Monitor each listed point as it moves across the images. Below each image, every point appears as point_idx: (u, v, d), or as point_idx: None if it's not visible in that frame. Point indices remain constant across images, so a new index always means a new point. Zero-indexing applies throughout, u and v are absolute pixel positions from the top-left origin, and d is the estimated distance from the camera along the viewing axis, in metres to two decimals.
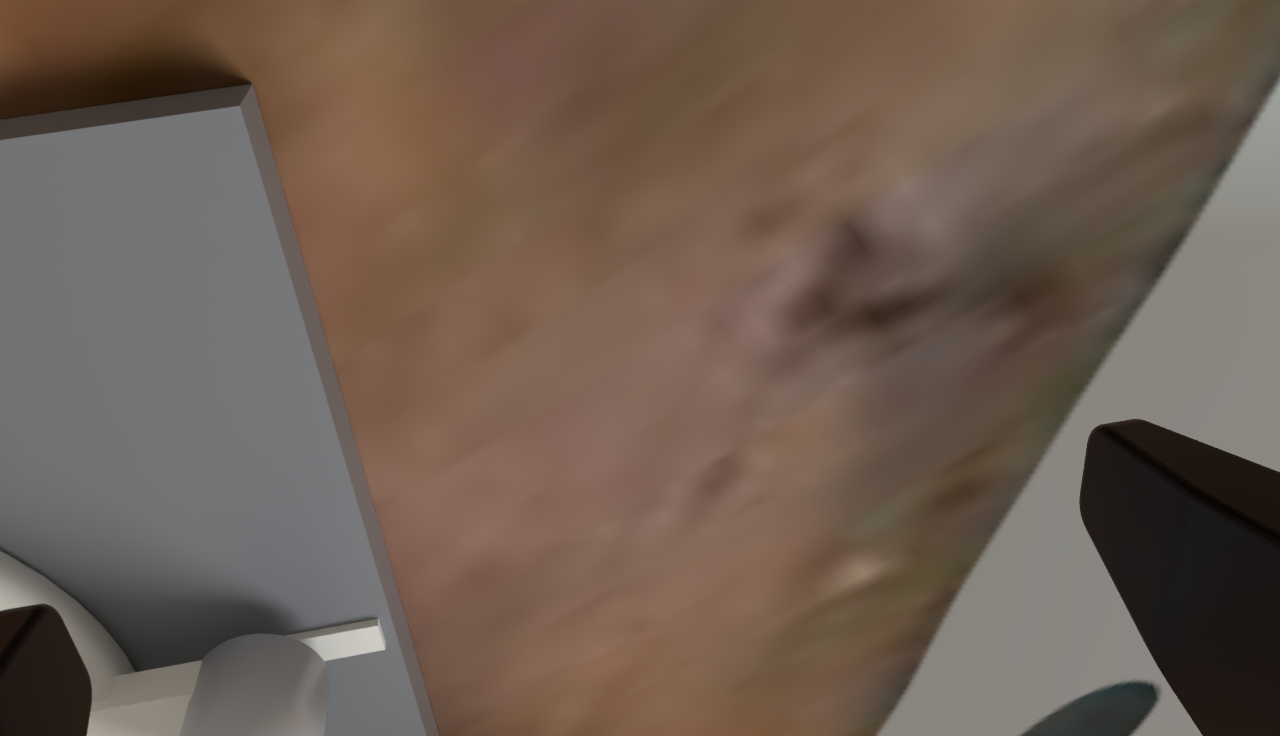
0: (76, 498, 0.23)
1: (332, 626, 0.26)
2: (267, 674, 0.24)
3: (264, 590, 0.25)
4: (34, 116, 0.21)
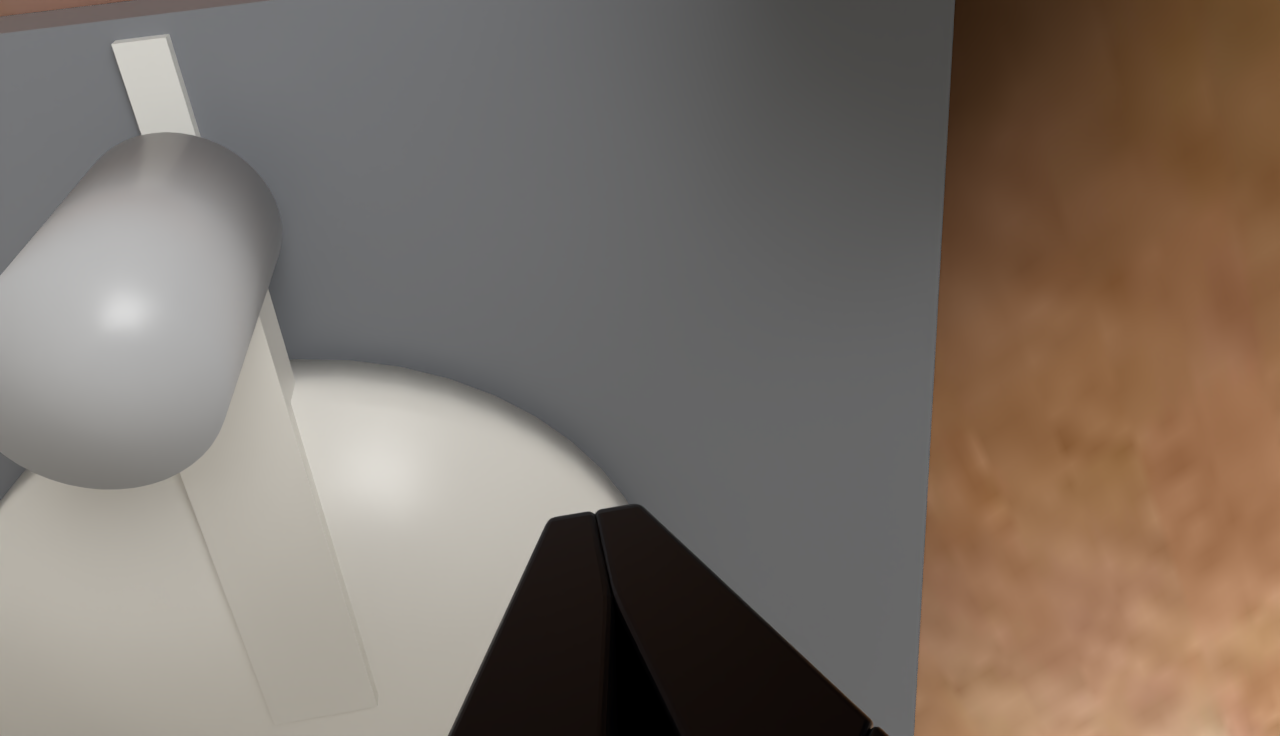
0: None
1: (138, 111, 0.17)
2: None
3: None
4: None
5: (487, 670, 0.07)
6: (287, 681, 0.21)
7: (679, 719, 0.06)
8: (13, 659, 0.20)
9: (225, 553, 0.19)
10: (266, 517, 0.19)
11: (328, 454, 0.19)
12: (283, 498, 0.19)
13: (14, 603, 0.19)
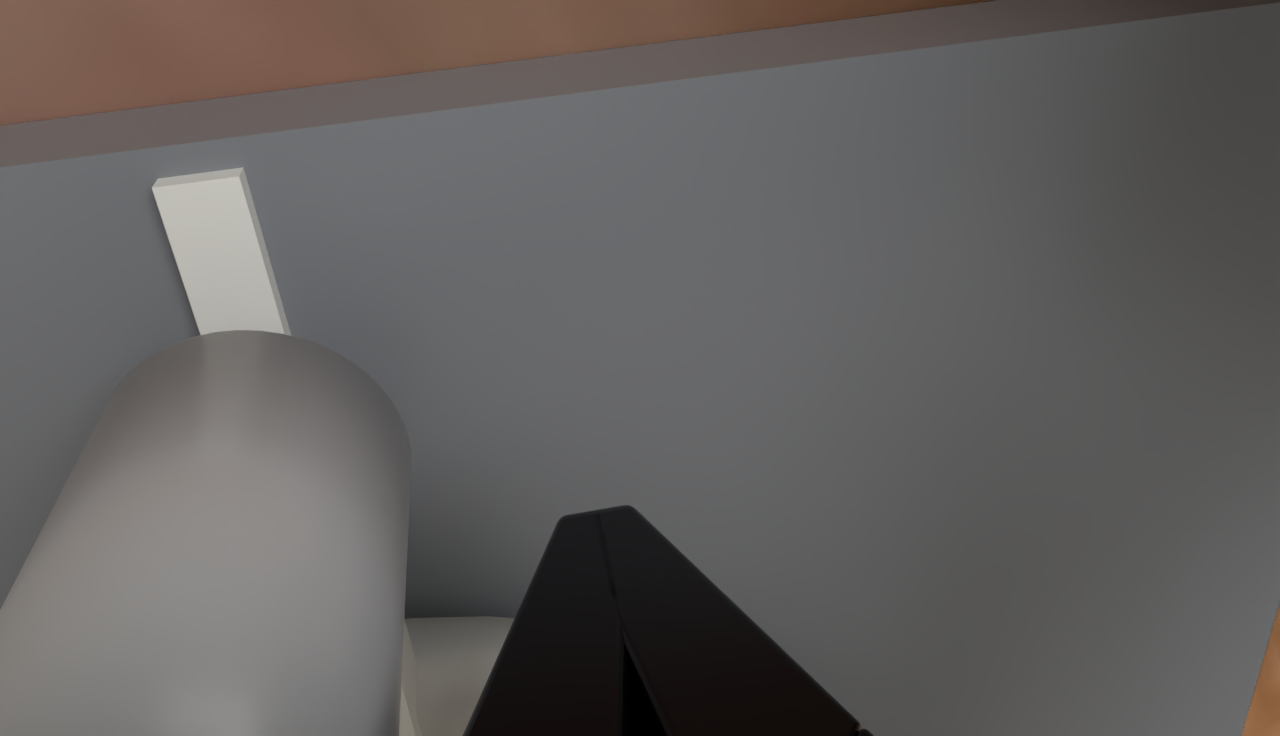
0: None
1: (190, 283, 0.11)
2: None
3: (83, 406, 0.11)
4: None
5: (501, 668, 0.07)
6: None
7: (667, 721, 0.06)
8: None
9: None
10: None
11: None
12: None
13: None
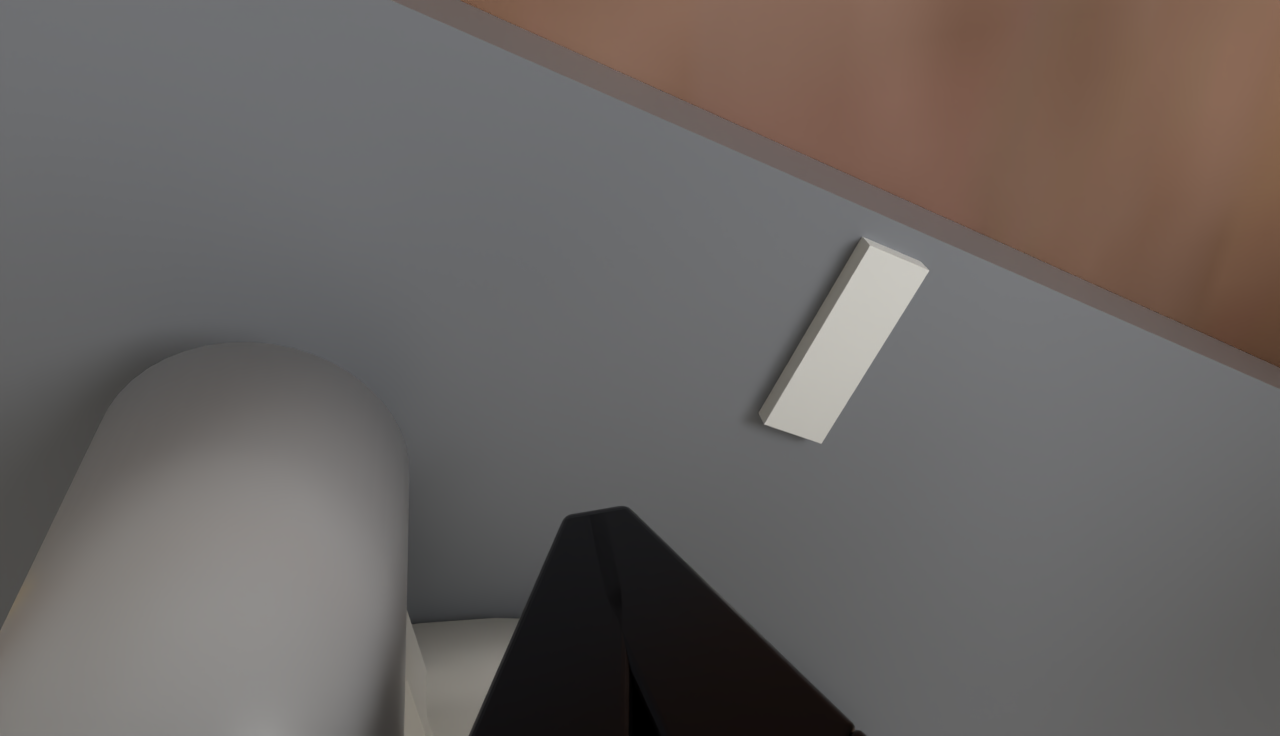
0: None
1: (811, 320, 0.12)
2: None
3: (651, 369, 0.12)
4: None
5: (507, 666, 0.07)
6: None
7: (661, 723, 0.06)
8: None
9: None
10: None
11: None
12: None
13: None
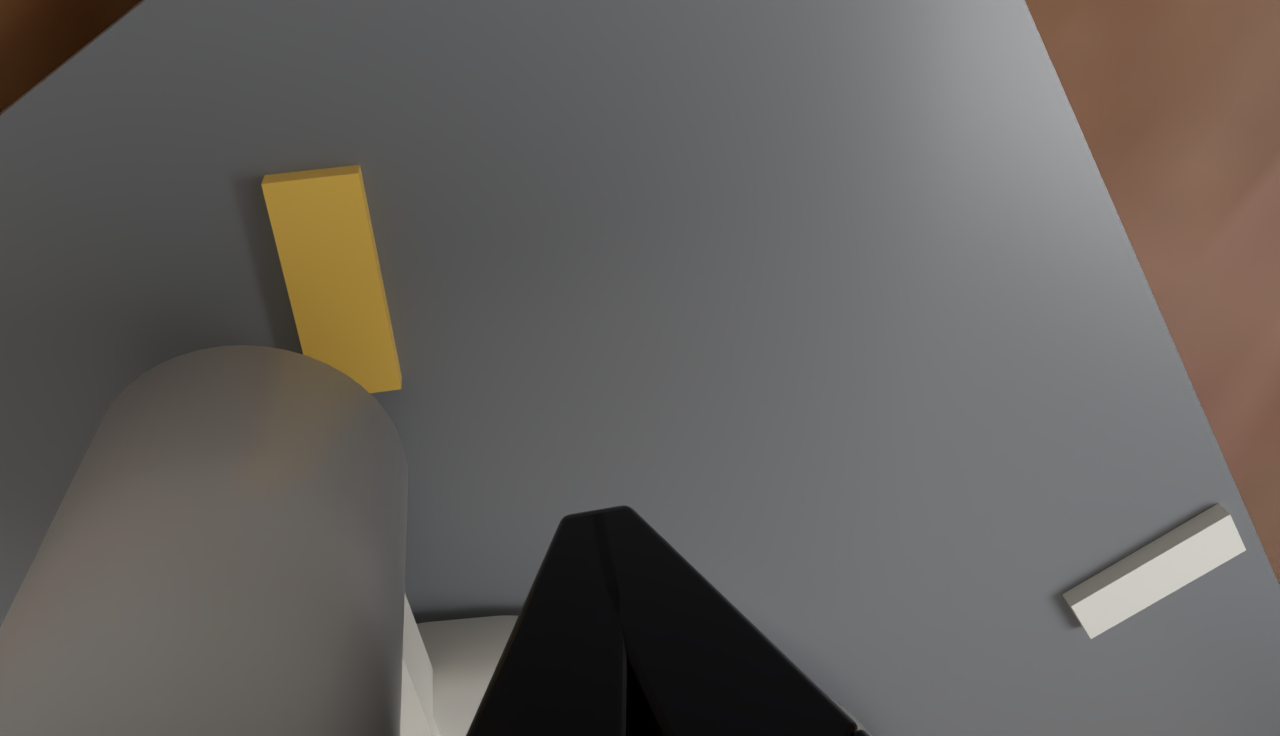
0: (704, 489, 0.13)
1: (1145, 544, 0.15)
2: None
3: (1028, 527, 0.14)
4: None
5: (504, 666, 0.07)
6: None
7: (664, 722, 0.06)
8: None
9: None
10: None
11: None
12: None
13: None
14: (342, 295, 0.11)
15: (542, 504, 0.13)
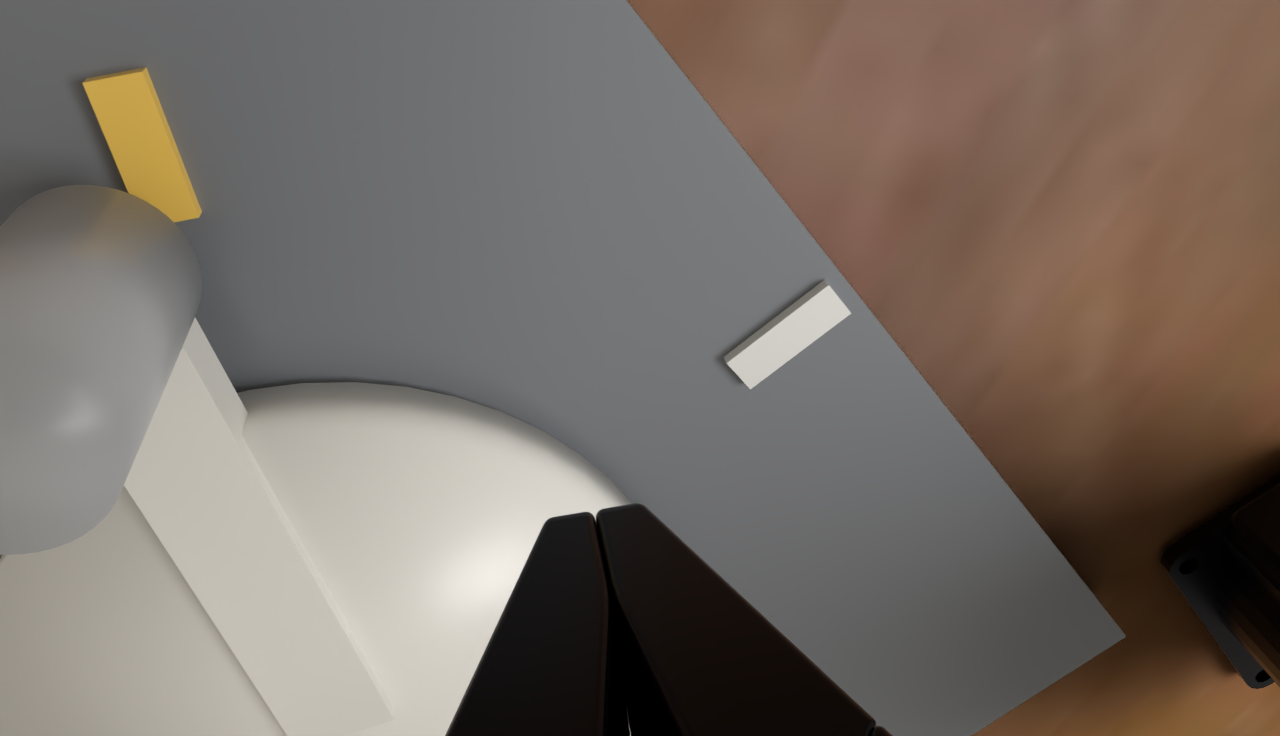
0: (430, 284, 0.19)
1: (777, 315, 0.20)
2: None
3: (681, 304, 0.20)
4: None
5: (484, 671, 0.07)
6: (299, 706, 0.21)
7: (682, 719, 0.06)
8: (32, 718, 0.20)
9: (209, 591, 0.19)
10: (241, 551, 0.19)
11: (290, 480, 0.19)
12: (253, 530, 0.19)
13: (21, 666, 0.20)
14: (147, 154, 0.17)
15: (318, 300, 0.19)
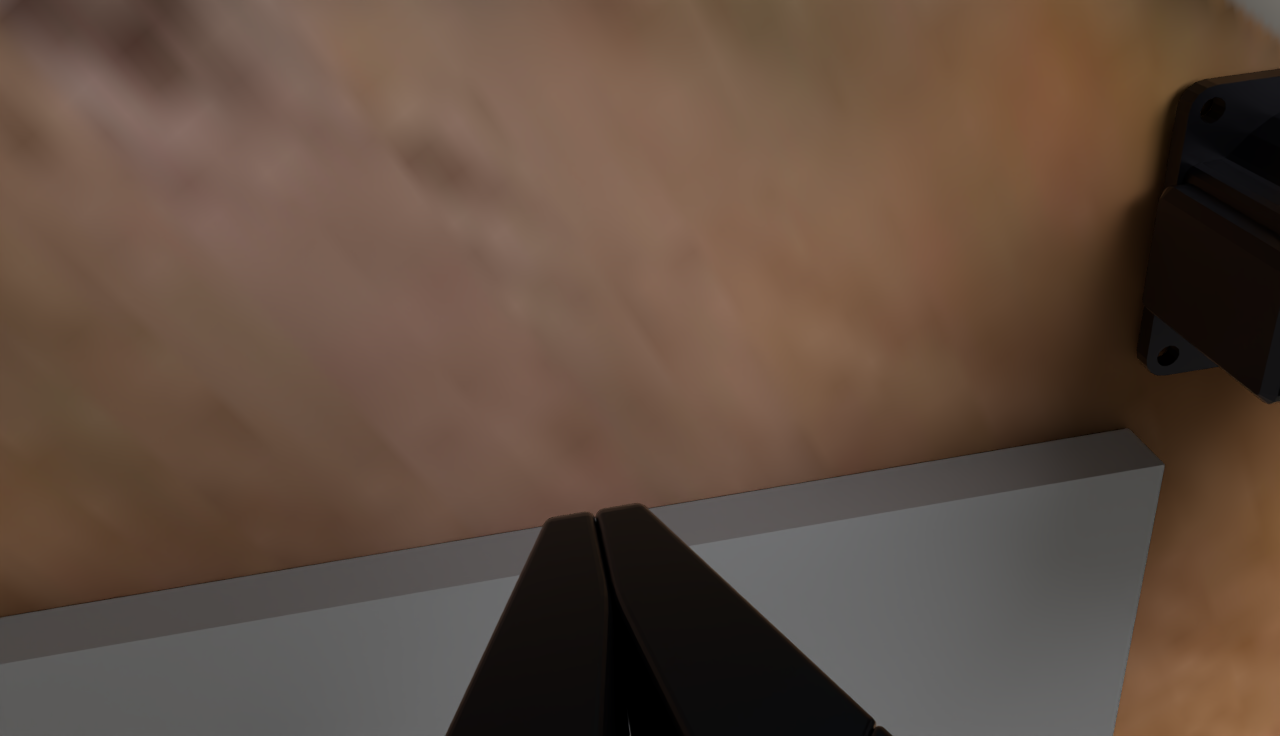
0: None
1: None
2: None
3: None
4: None
5: (484, 672, 0.07)
6: None
7: (682, 719, 0.06)
8: None
9: None
10: None
11: None
12: None
13: None
14: None
15: None
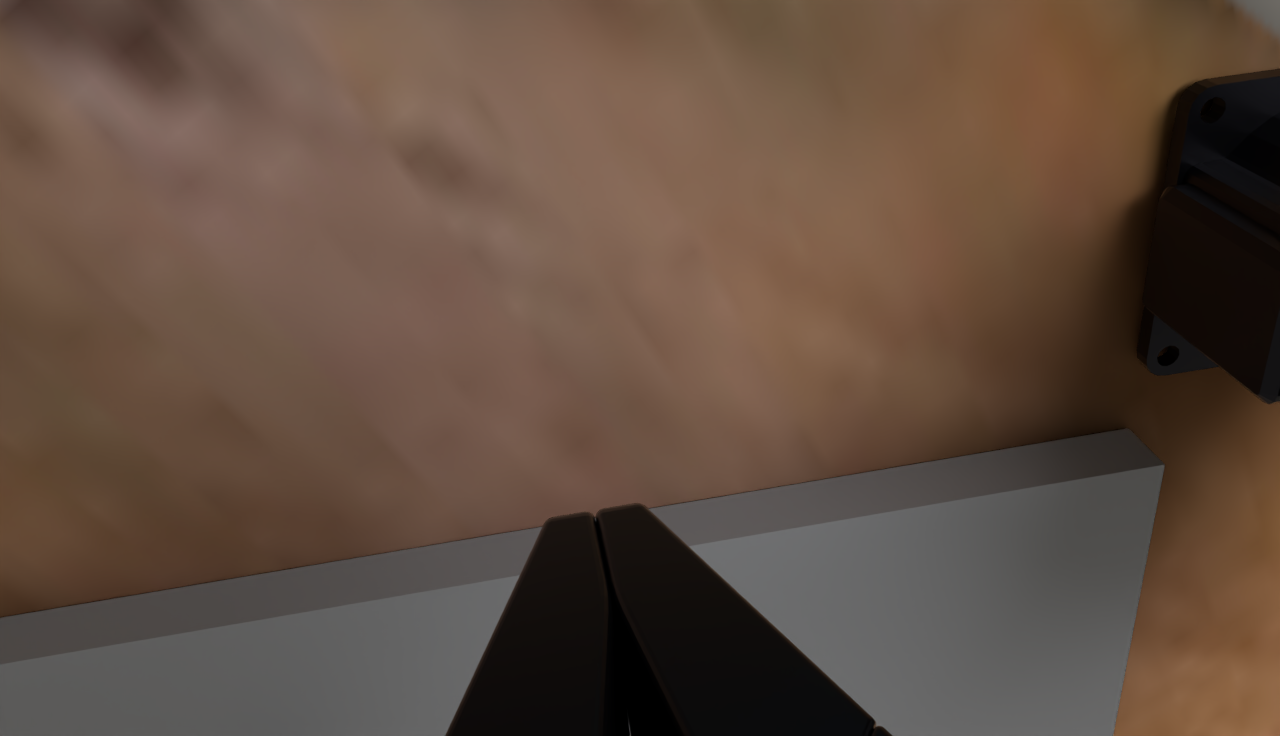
0: None
1: None
2: None
3: None
4: None
5: (484, 672, 0.07)
6: None
7: (682, 719, 0.06)
8: None
9: None
10: None
11: None
12: None
13: None
14: None
15: None
